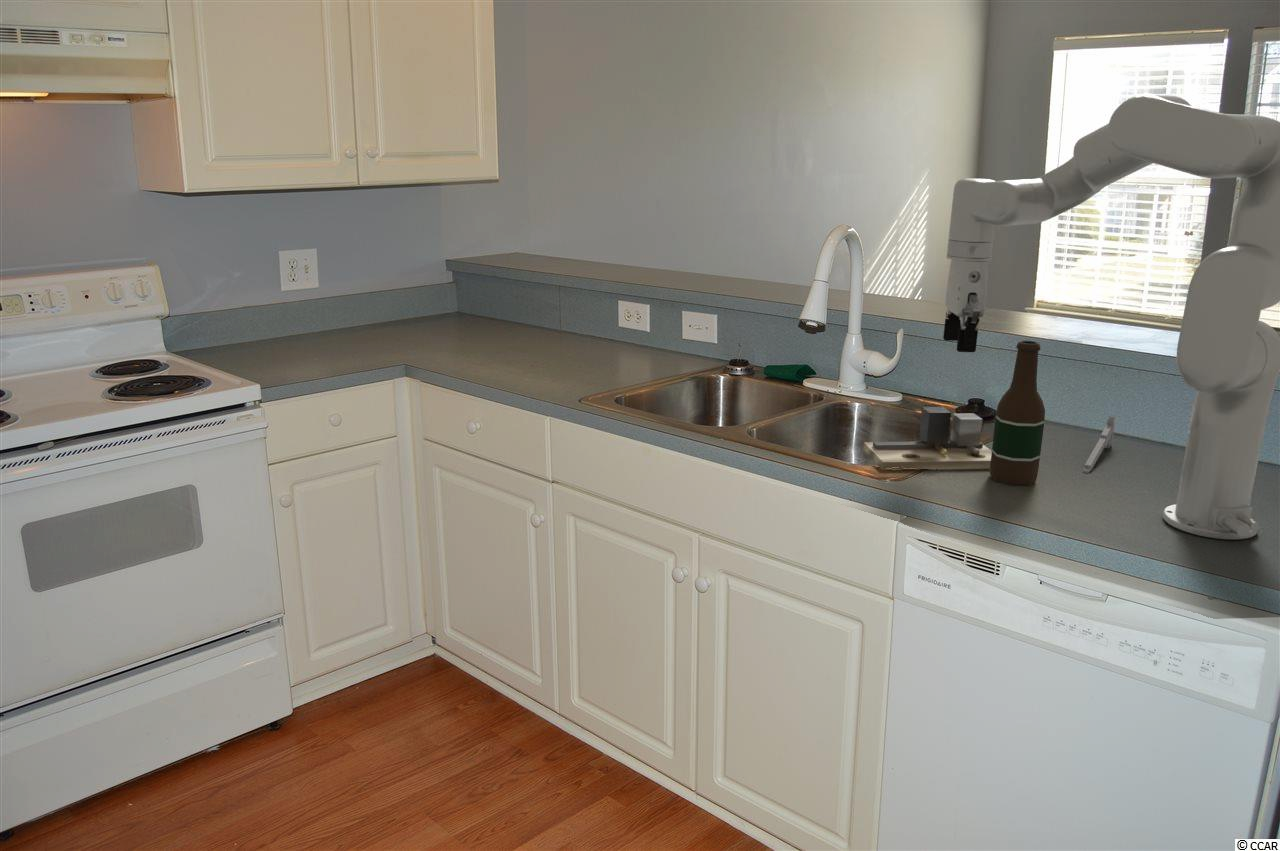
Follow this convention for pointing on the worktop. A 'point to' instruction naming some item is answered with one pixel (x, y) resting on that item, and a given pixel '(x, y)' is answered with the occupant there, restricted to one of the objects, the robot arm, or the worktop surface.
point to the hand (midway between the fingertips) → (958, 345)
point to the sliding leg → (935, 427)
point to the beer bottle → (1019, 423)
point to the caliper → (1101, 445)
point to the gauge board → (917, 454)
